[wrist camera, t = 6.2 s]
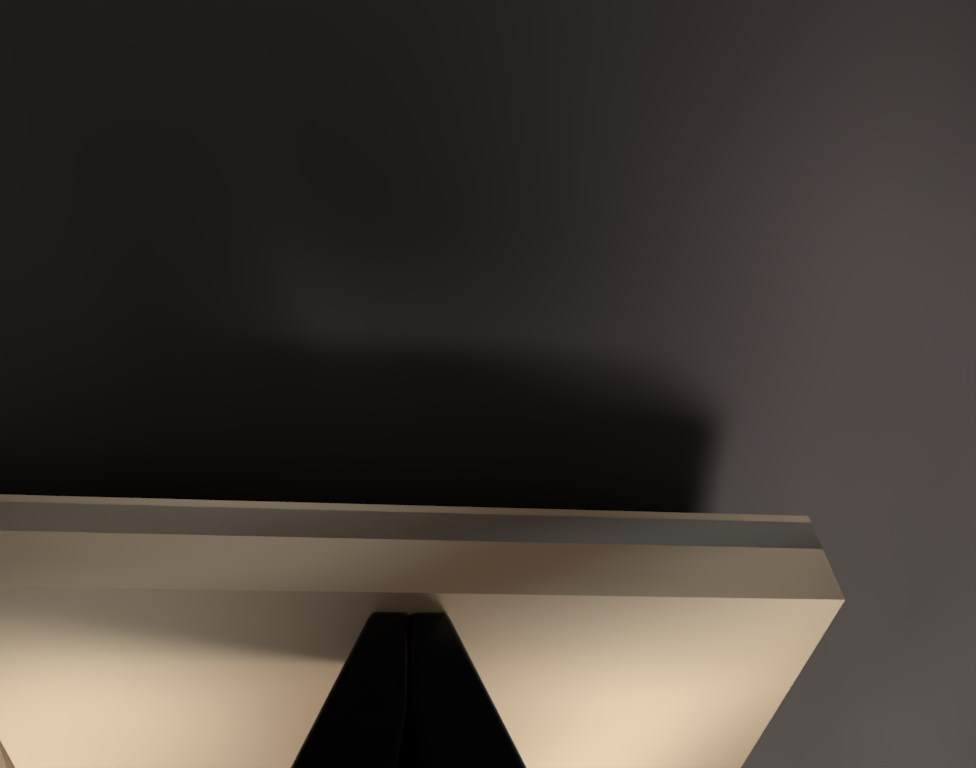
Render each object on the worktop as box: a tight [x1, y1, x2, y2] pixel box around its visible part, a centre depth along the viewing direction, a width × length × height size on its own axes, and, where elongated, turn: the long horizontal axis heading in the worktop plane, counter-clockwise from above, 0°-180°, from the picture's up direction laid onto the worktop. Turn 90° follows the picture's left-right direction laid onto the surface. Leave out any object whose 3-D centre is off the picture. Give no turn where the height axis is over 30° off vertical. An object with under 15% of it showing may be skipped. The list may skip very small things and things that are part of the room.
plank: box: [0, 494, 845, 768], centre depth 12 cm, size 10×7×1 cm
